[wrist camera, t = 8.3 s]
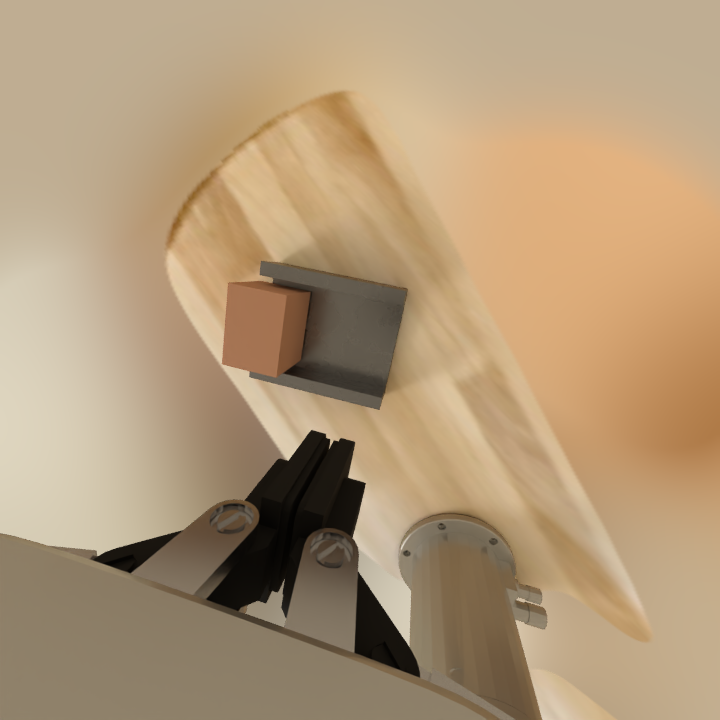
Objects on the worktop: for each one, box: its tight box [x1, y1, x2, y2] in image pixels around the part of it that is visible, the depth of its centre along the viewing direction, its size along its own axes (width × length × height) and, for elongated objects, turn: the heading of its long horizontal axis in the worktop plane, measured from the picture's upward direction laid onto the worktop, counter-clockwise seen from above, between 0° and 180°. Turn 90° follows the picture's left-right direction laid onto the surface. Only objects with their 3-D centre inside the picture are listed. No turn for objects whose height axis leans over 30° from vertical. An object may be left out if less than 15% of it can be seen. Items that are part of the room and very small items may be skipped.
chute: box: [249, 261, 408, 410], centre depth 32 cm, size 13×11×4 cm
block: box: [222, 281, 311, 378], centre depth 30 cm, size 5×7×6 cm
